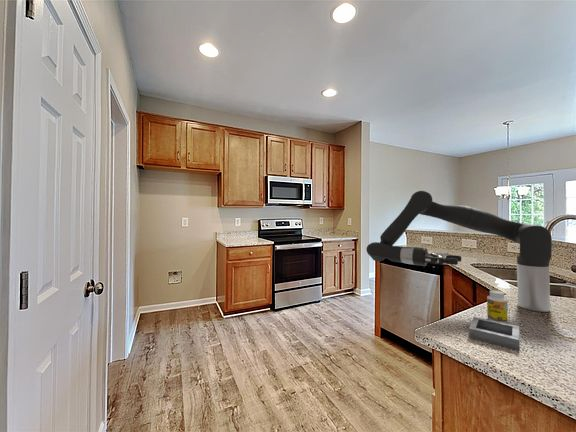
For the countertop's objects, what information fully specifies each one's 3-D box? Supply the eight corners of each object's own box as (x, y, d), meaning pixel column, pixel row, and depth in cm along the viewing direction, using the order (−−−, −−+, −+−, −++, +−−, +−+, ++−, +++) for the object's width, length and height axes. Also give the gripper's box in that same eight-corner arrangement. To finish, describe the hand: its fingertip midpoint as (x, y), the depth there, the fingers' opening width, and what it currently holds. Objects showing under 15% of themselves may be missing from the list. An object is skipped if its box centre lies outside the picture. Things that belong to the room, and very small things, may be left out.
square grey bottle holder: (473, 325, 86) (473, 316, 86) (519, 335, 78) (519, 326, 78) (469, 337, 77) (469, 328, 77) (519, 350, 69) (519, 340, 69)
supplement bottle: (483, 318, 91) (483, 290, 91) (493, 316, 93) (492, 288, 93) (502, 324, 86) (501, 295, 86) (511, 321, 88) (510, 292, 88)
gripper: (408, 248, 102) (456, 252, 91) (418, 245, 113) (462, 248, 102) (408, 267, 102) (456, 273, 91) (418, 262, 113) (462, 267, 102)
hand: (459, 260), depth 97 cm, fingers open, 8 cm apart
